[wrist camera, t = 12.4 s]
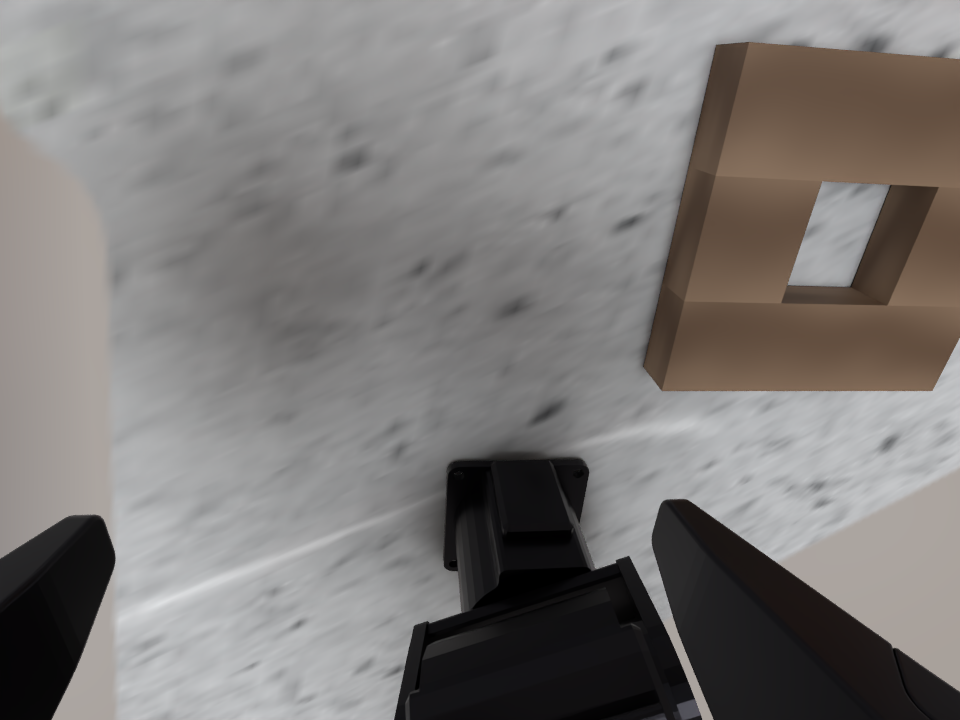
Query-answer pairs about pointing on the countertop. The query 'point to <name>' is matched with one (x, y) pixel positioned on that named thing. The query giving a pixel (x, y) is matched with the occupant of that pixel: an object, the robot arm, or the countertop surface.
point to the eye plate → (785, 215)
